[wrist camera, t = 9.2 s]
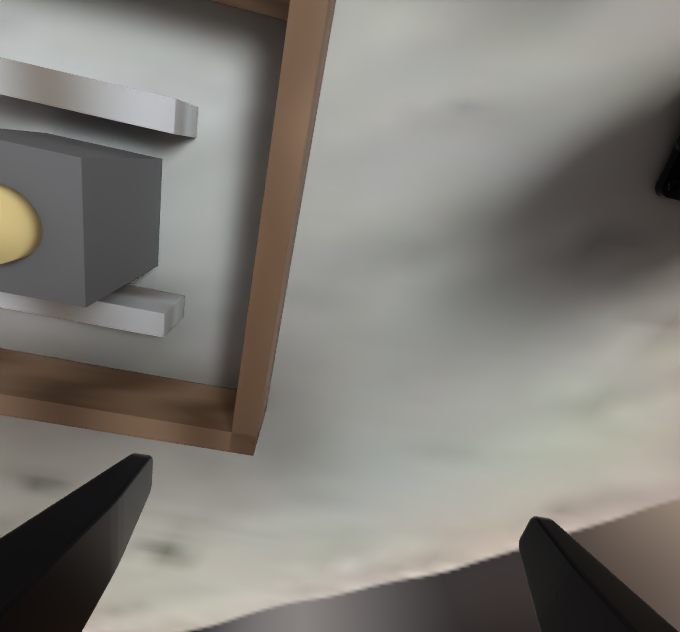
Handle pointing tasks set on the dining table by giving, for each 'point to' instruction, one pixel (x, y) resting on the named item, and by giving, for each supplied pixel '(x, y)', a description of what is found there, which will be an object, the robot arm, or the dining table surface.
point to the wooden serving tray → (166, 308)
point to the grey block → (75, 217)
